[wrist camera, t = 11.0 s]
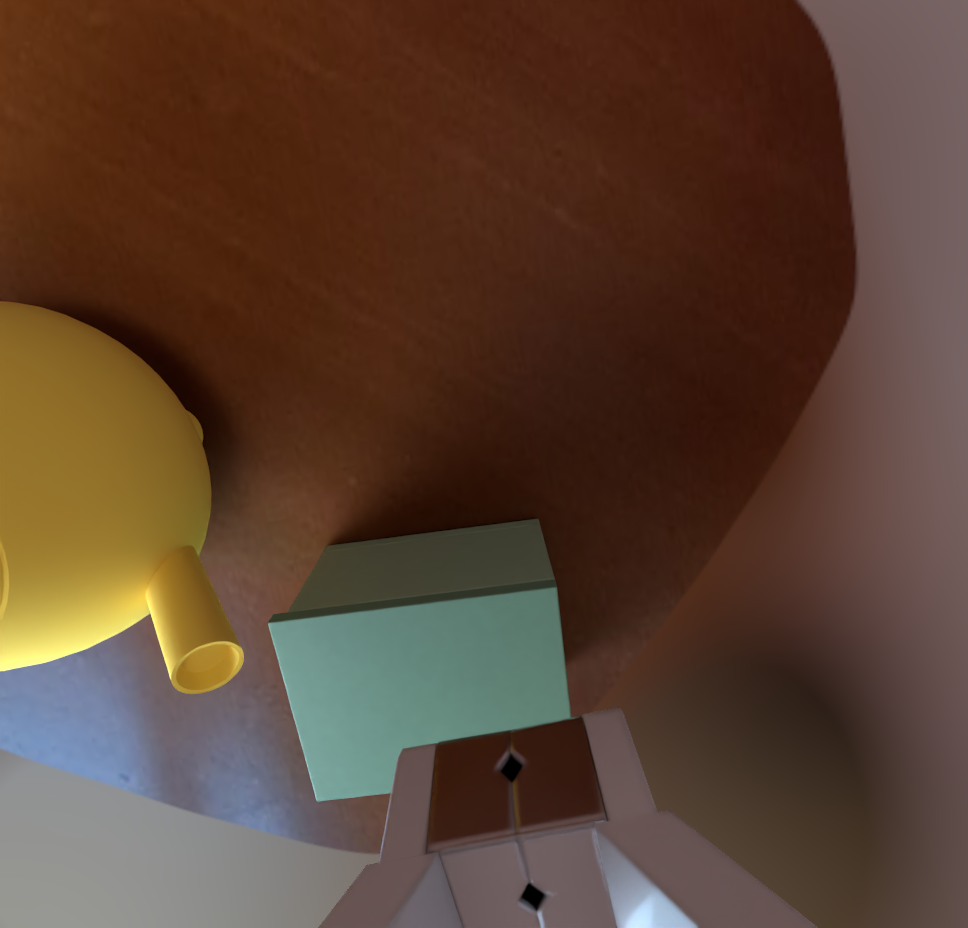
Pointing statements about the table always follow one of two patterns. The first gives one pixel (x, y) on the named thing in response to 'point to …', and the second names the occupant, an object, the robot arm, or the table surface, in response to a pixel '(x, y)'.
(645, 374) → the table surface
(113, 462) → the teapot
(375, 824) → the table surface
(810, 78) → the table surface
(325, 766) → the lunchbox lid
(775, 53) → the table surface
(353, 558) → the lunchbox
